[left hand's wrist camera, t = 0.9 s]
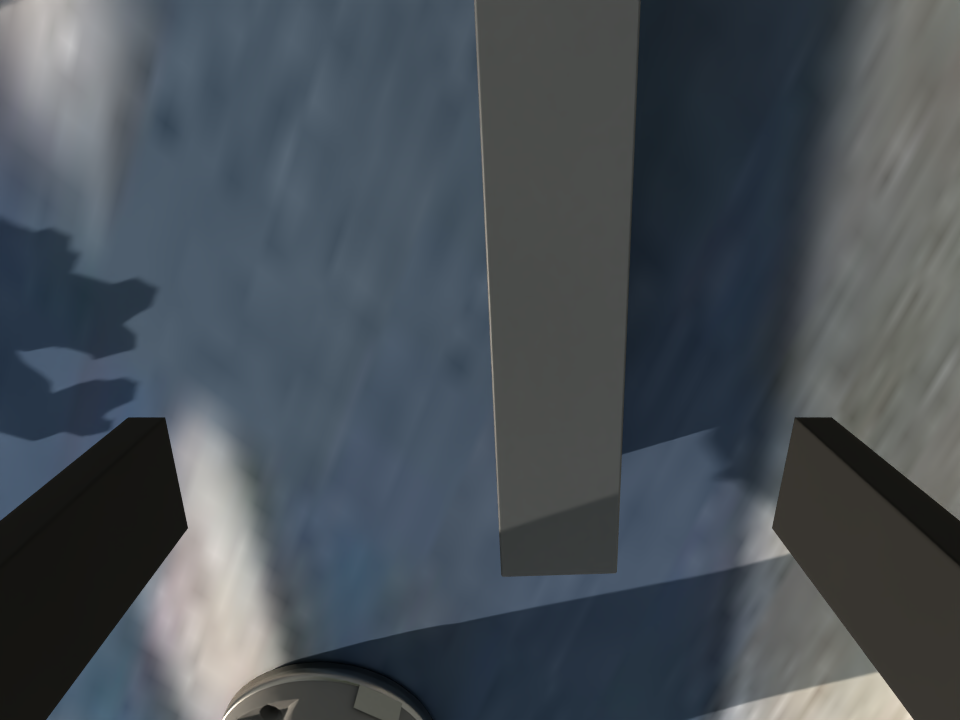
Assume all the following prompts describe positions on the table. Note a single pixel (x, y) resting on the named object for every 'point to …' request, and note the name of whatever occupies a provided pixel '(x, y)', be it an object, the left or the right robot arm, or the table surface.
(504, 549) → the post
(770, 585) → the table surface
